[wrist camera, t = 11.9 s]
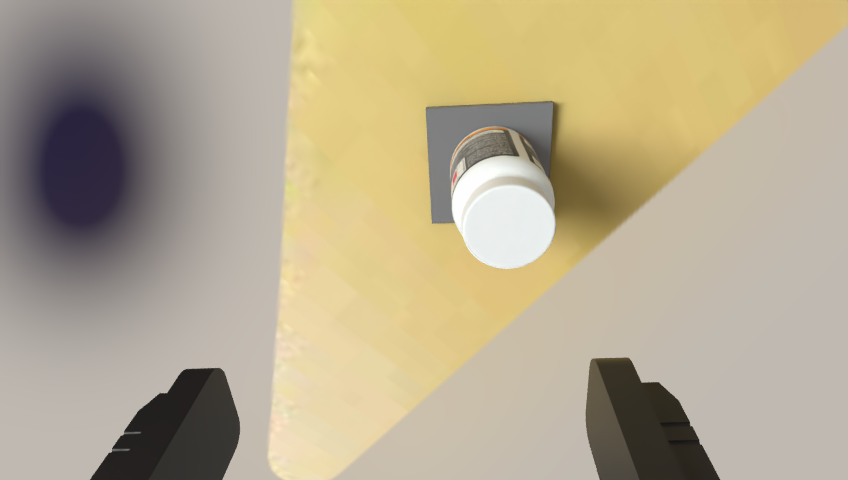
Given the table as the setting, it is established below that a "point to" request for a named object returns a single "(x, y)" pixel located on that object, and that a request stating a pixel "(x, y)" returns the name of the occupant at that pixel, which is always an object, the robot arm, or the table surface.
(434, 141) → the coaster
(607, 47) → the table surface
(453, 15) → the table surface
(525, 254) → the pill bottle
